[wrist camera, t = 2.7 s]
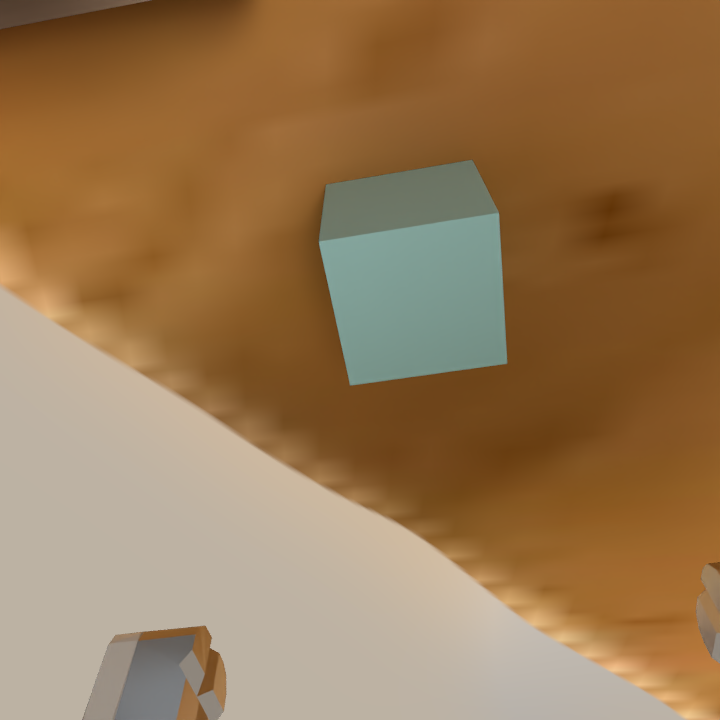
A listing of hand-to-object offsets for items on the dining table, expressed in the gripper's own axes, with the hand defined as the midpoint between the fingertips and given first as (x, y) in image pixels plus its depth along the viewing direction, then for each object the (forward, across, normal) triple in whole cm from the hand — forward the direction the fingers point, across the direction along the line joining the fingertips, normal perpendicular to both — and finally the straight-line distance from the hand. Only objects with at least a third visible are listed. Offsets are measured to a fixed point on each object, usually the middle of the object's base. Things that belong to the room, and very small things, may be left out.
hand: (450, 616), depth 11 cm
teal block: (+15, 0, 0) cm, 15 cm away
